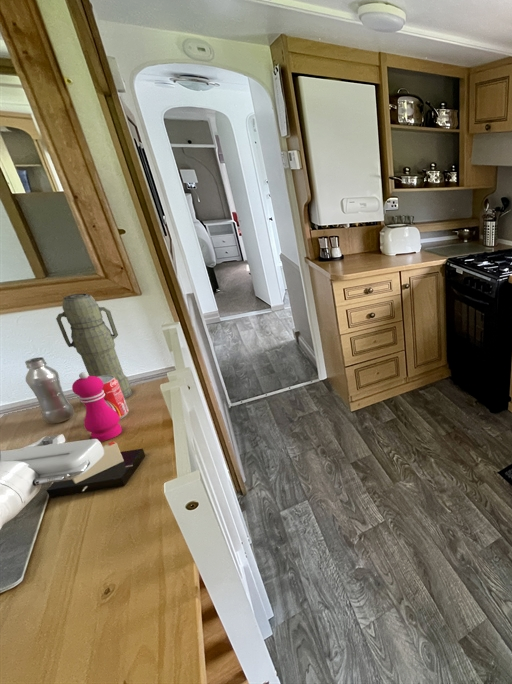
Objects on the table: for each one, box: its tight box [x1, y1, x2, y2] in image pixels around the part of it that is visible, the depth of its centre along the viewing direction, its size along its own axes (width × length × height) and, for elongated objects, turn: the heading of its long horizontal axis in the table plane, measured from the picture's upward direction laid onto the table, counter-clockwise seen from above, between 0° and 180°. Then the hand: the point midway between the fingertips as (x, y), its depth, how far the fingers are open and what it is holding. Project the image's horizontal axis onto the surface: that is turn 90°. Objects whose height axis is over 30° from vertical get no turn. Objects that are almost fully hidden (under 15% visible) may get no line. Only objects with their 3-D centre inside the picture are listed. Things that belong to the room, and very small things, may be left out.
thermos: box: [55, 293, 133, 400], centre depth 119 cm, size 9×12×35 cm
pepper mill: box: [71, 371, 123, 442], centre depth 103 cm, size 7×7×20 cm
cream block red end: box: [72, 440, 124, 484], centre depth 89 cm, size 9×1×6 cm, turn 149°
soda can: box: [98, 375, 130, 420], centre depth 112 cm, size 7×7×13 cm
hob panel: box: [46, 448, 146, 499], centre depth 91 cm, size 15×14×3 cm
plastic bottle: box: [24, 357, 75, 424], centre depth 109 cm, size 6×7×20 cm
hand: (55, 438), depth 74 cm, fingers closed
